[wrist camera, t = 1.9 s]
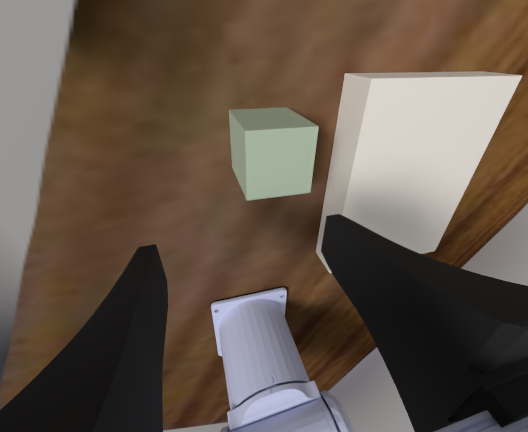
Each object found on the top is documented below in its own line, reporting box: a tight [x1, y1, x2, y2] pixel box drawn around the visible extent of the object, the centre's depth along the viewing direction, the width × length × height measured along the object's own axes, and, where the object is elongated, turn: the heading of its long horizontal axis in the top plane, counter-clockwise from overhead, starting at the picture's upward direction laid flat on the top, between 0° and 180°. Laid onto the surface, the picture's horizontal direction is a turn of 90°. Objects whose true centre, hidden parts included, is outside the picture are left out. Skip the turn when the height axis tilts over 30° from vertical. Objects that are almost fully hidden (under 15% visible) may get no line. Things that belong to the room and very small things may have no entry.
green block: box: [229, 107, 319, 201], centre depth 17 cm, size 4×4×5 cm
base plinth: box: [316, 71, 522, 273], centre depth 22 cm, size 16×12×3 cm
